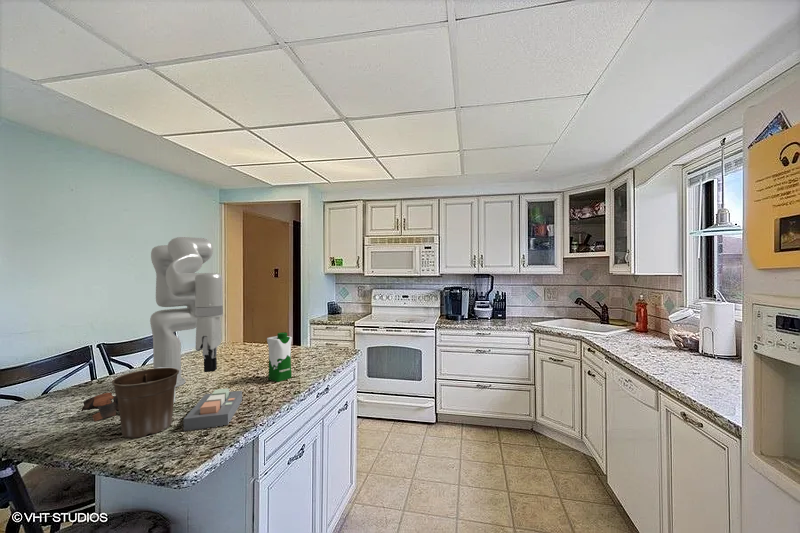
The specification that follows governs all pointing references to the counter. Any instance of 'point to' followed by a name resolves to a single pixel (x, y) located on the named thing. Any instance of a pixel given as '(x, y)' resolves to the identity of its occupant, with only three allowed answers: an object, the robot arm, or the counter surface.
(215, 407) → the terracotta key
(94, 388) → the counter surface
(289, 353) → the milk carton
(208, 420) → the keypad
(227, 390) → the sage key
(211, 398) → the cream key
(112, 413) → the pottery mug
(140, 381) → the plant pot
